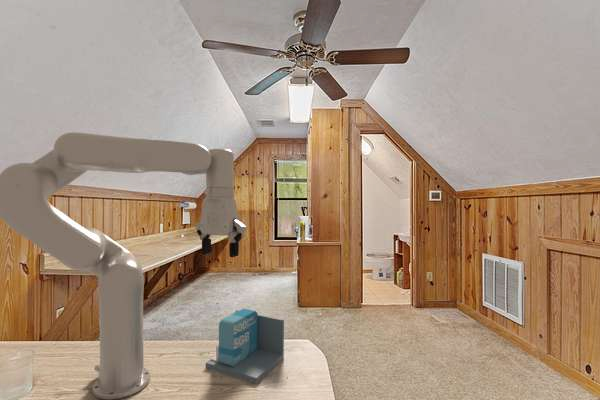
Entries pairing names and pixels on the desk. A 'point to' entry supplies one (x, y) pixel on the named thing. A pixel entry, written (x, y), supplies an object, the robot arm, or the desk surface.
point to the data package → (238, 336)
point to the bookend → (216, 358)
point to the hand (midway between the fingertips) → (219, 254)
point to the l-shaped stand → (258, 352)
